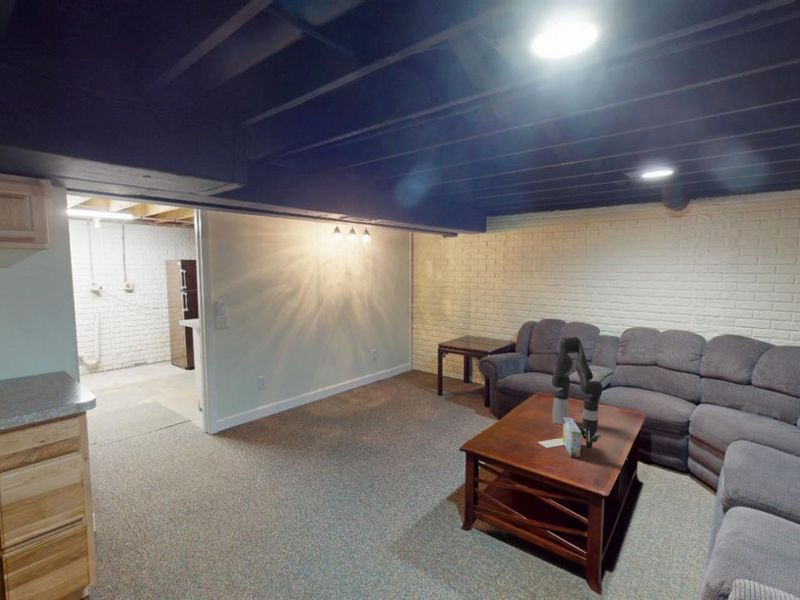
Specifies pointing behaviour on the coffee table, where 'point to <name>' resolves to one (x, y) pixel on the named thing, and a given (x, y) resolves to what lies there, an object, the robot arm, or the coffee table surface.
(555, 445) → the mat
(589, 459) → the coffee table surface
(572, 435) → the snack box
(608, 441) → the coffee table surface
